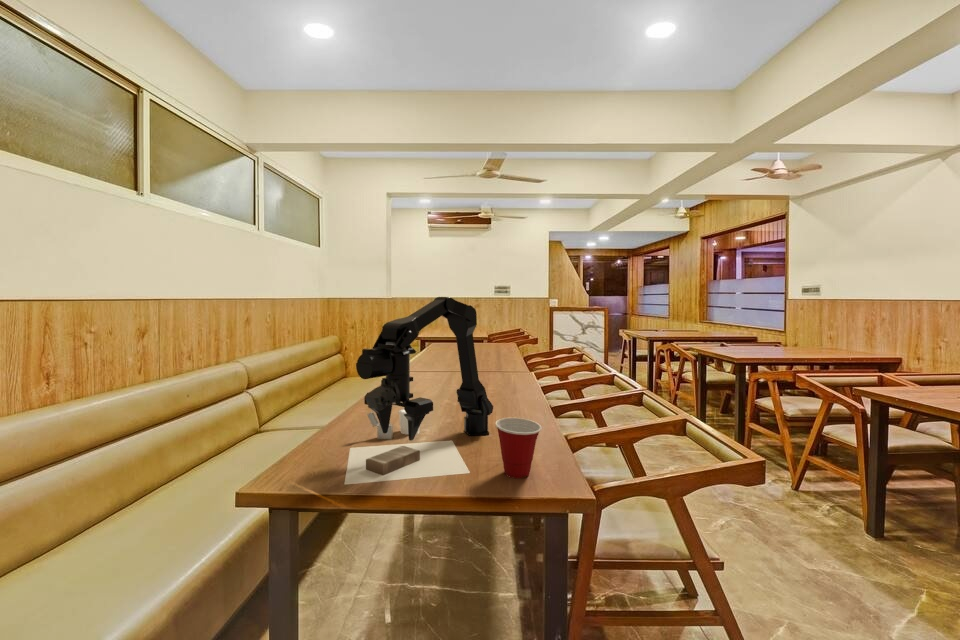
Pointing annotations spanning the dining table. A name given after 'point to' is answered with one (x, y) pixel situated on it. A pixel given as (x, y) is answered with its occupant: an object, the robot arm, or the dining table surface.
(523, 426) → the plastic cup
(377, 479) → the mat
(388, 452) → the wood grain block
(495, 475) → the dining table surface
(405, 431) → the white cylinder
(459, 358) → the robot arm
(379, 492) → the dining table surface
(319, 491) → the dining table surface
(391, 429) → the lighter
